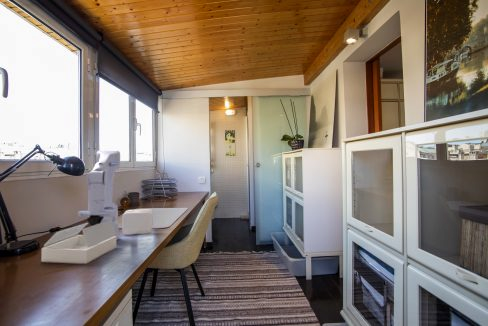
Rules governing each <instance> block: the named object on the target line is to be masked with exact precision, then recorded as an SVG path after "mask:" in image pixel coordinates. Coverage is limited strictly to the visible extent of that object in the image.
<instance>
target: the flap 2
mask: <svg viewBox="0 0 488 326" xmlns="http://www.w3.org/2000/svg"><path fill="white" fill-rule="evenodd" d="M81 231H82V235H84V238H85V241H86V244H87V247H88V248H89V247H91V246H93V245H95V244H98V243H100V242H102V241H104V240H106V239H108V238H111V237H113V236H115V235H116V234H115V231H114V227H113V224H112V221H111V220H108V221H105V222H102V223H100V224H96V225H93V226H91V225H90V226H87V227H84V228H83V229H82V230H81Z"/></svg>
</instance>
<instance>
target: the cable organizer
mask: <svg viewBox="0 0 488 326" xmlns="http://www.w3.org/2000/svg"><path fill="white" fill-rule="evenodd" d="M121 218H122V220H121V221H122V228H121V229H122V231H121V232H122V233H123V234H125V235H128V236H133V235H136V234H137V235H139V234H140V235H147V234H148V233H150V232H151V231H152V229H153V225H154V211H153V209H150V208H149V209H147V208H146V209H144V208H143V209H127V210H125V211H124V213H123V214H122V217H121Z"/></svg>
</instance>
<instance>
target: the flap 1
mask: <svg viewBox="0 0 488 326" xmlns="http://www.w3.org/2000/svg"><path fill="white" fill-rule="evenodd" d="M88 224H89V222H85V223H81V224H79V225H75V226H72V227H69V228H65V229H63V230H59V231H56V232H54V234H53V235H52V236H51V237H50V238H49V239H48V240H47V242H45V243H44V244H43V247H47V246H50V245H52V244H55V243H58V242H60V241H63V240H66V239H69V238H71V237H74V236H77V235H79V233H80V232H81V231H82V229H84V228H86V226H87V225H88Z"/></svg>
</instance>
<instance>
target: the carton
mask: <svg viewBox="0 0 488 326" xmlns="http://www.w3.org/2000/svg"><path fill="white" fill-rule="evenodd" d="M114 249H117V240H116V236H113V237H111V238H108V239H106V240H104V241H102V242H100V243H98V244H95V245H93V246H91V247H89V248H88V247H87V244H86V241H85V238H84V234H77V235H74V236H71V237H69V238H66V239H63V240H60V241H58V242H55V243H52V244H49V245H46V246H43V247H42V248H41V260H40V261H41V263H58V264H59V263H60V264H63V263H64V264H79V265H81V264H82V265H83V264H84V265H86V264H89V263H90V262H93V261H95V260H96V259H98V258H100V257H103V256H104V255H105V254H107V253H109V252H111V251H113V250H114Z"/></svg>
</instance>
